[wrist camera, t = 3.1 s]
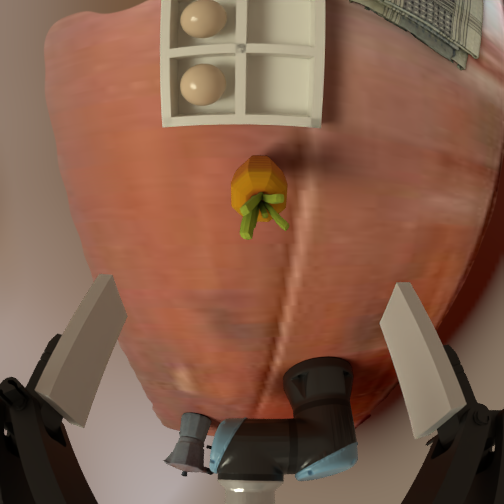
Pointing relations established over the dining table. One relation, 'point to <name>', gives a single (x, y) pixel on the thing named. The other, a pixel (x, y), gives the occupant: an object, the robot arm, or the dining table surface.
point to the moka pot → (191, 445)
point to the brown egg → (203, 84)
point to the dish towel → (437, 24)
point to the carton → (248, 63)
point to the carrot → (259, 194)
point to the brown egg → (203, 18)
